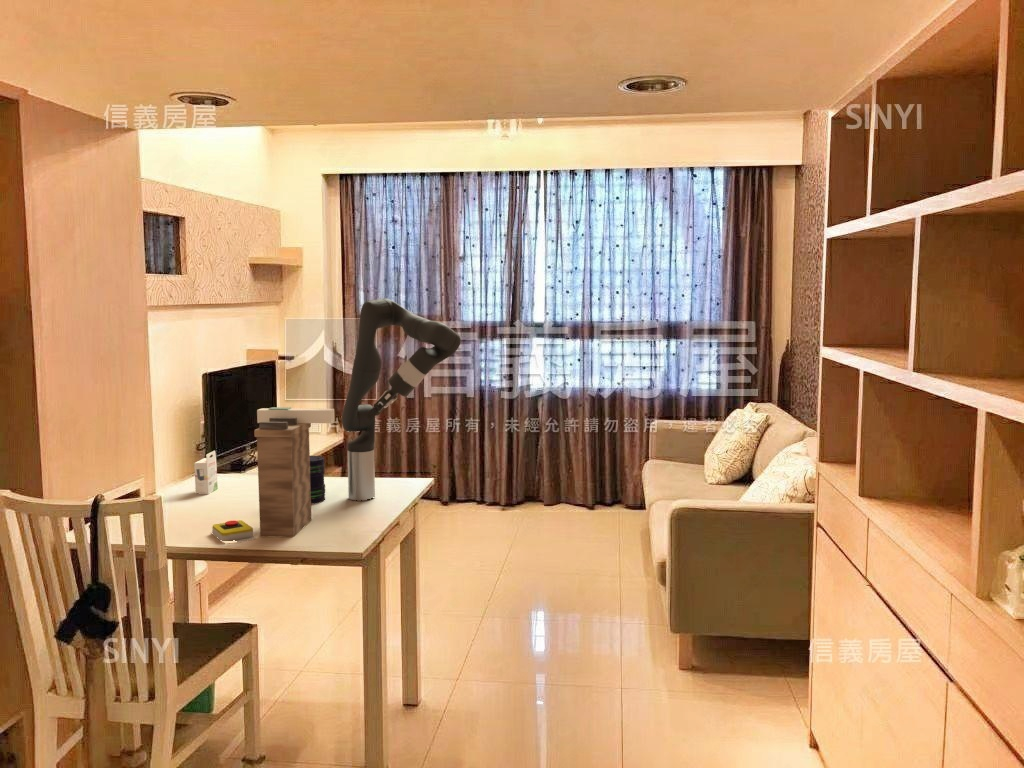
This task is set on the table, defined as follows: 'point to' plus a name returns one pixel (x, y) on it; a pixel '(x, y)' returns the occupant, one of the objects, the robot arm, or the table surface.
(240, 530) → the emergency button
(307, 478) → the tall stand
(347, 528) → the table surface
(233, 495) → the table surface
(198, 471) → the ink box
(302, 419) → the bar
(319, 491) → the dark blue cylinder
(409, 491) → the table surface
